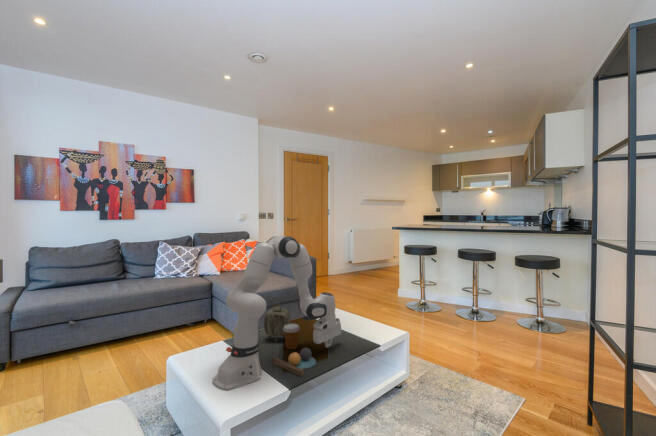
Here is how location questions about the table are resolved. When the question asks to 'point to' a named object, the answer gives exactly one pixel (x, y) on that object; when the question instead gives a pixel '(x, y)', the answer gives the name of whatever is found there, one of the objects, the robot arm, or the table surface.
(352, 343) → the table surface
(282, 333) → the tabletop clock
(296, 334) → the disposable coffee cup
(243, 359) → the robot arm
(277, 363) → the stopper wall
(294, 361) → the orange ball
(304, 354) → the dark gray ball
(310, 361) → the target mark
